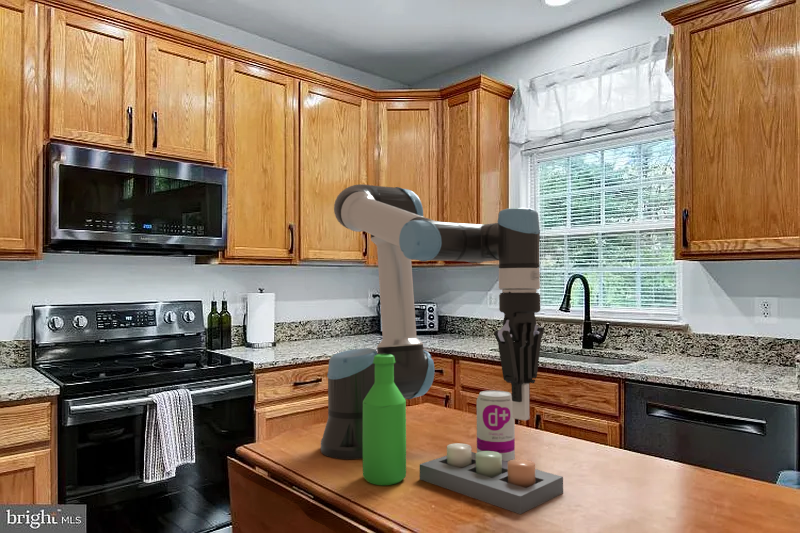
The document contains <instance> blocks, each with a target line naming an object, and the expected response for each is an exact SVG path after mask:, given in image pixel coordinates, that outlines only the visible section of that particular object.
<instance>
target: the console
mask: <svg viewBox="0 0 800 533" xmlns="http://www.w3.org/2000/svg"><path fill="white" fill-rule="evenodd" d="M476 453H477V452H473V451H472V465H469V466H466V467H464V468H458V467H455V466H452V465H448V464H447V455H443V456H440V457H437V458H435V459H432V460H428V461H426V462H422V463H420V464H419V480H421V481H424V482H427V483H430V484H432V485H435V486H438V487H441V488H444V489H446V490H449V491H452V492H455V493H458V494H461V495H464V496H467V497H469V498H473V499H475V500H479V501H480V502H484V503H487V504H490V505H493V506H495V507H499V508H500V509H505V510H507V511H510V512H513V513H516V514H519V515H521V514H524V513H526V512H529V511H530V510H532V509H533V508H536V507H538V506H540V505H541V504H544V503H546V502H548V501H550V500H552V499H554V498H557V497H558V496H560V495H562V494H563V493H564V476H563V475H558V474H554V473H550V472H547V471H543V470H539V469H537V468H535V484H534V485H532V486H530V487H521V486H517V485H514V484H511V483H508V462H507V461H503V460H502V474H500V475H498V476H495V477H488V476H484V475H481V474H478V473H476Z"/></svg>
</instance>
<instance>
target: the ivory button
mask: <svg viewBox="0 0 800 533" xmlns="http://www.w3.org/2000/svg"><path fill="white" fill-rule="evenodd" d="M472 452H473V451H472V446H471V445H470V444H467V443H458V442H455V443H450V444H447V446H446V456H447V464H448V465H452V466H455V467H458V468H464V467H466V466H469V465H472Z"/></svg>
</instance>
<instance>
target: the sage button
mask: <svg viewBox="0 0 800 533" xmlns="http://www.w3.org/2000/svg"><path fill="white" fill-rule="evenodd" d="M475 453H476V473H478V474H481V475H484V476H488V477H495V476H498V475H500V474H502V455H501V454H500V453H498V452H494V451H480V452H477V451H476V452H475Z"/></svg>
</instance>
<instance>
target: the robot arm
mask: <svg viewBox="0 0 800 533" xmlns="http://www.w3.org/2000/svg"><path fill="white" fill-rule="evenodd" d="M423 208H424V207H423V204H422V201H421V199H420V197H419V195H417V194H416V193H415V192H414V191H412V190H411V189H408V188H401V187H400V186H399V187H398V186H396V187H393V186H392V187H391V186H381V185H374V184H373V185H372V184H371V185H370V184H365V183H363V184H352V185H350V186H348V187H346V188H344V189H343V190H342V191H341V192H340V193H338V195H337V197H336V199H335V202H334V205H333V211H334V212H333V213H334V216H335V219H336V220H337V222H338V223H339V224H340V225H341V226H343V227H344V228H345V229H348V230H350V231H353V232H358V233H359V232H365V233H367V234H369V235H370V241H371V242H372V243H373V244H375V246H376V247H377V248H376V249H377V252H376V253H377V264H378V265H377V266H378V283H379V299H380V302H379V303H380V313H381V314H380V315H381V330H382V331H381V332H382V339H381V341H380V342H379V343H378V345H377V347H376V348H377V349H375V348H370V347H369V348H367V347H366V348H365V347H364V348H354V349H348V350H344V351H340V352H337V353H335V354H333V355H332V356H330V358H329V360H328V369H327V399H328V400H327V402H328V403H327V404H328V405H327V406H328V407H327V408H328V411H327V413H328V414H327V416H328V418H327V420H326V424H325V427H324V431H323V435H322V438H321V440H320V452H321V454H322V455H324V456H326V457H330V458H333V459H340V460H359V459H363V400H364V399H365V397H366V396H367V394H368V392H369V391H370V389H371V388H372V386H373V385H374V383H375V364H374V363H373V360H374V356H375V355H378V354H391V355H393V356H394V358H395V363H394V383H395V385H396V386H397V388H398V389H399V391H400V392H401V394H402V395H403V397H404V398H405V400H412V399H414V398H418V397H423V396H424V395H425V394H427V393H428V391H429V390H430V388H431V387H432V385H433V382H434V379H435V363H434V359H433V358H432V354H430V353H429V351H427V350H424V343H423V342H422V341H421V340H420V339H419V337H418V336H417V324H416V310H415V296H414V284H413V283H414V282H413V268H412V261H413V260H414V261H419V262H429V261H435V262H436V261H437V262H438V261H439V262H440V261H442V262H443V261H446V262H466V263H467V262H468V263H477V264H481V263H483V262H498V289H499V290H501V292H499V295H498V298H499V300H498V301H499V302H498V304H499V305H498V309H499V312H500V313H503V315H504V317H503V320H502V327H501V328H500V329H495V330H494V332H493V335H494V337H495V339H496V342H497V345H498V351H499V352H498V353H499V360H500V365H501V371H502V378H503V380H504V381H505V382H506V383H508V384H510V385H511V396H512V412H513V418H514V420H520V421H528V420H530V416H531V415H530V396H531V395H530V393H531V392H530V386H531V384H535V383H536V378H537V376H538V370H539V369H538V368H539V363H540V362H539V360H540V352H541V345H542V344H541V343H542V338H543V335H544V333H545V329H544V328H545V327H542V326H538V325H537V319H536V313H540V311H541V294H540V293H539V292H538V291H537V290H539V289H541V279H540V278H541V274H540V268H541V266H540V265H541V264H540V241H541V239H540V236H541V235H540V234H541V229H540V217H539V213H538V211H537V210H536V209H534V208H528V207H514V208H513V207H511V208H505V209H501V210H500V211H499V212H498V218H497V222H493V223H483V224H482V223H477V224H476V223H467V222H465V223H462V222H449V221H447V222H446V221H438V220H434V219H431V218H429V217H426V216H424V209H423Z"/></svg>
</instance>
